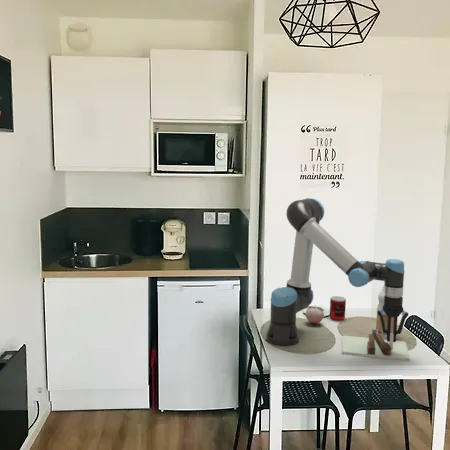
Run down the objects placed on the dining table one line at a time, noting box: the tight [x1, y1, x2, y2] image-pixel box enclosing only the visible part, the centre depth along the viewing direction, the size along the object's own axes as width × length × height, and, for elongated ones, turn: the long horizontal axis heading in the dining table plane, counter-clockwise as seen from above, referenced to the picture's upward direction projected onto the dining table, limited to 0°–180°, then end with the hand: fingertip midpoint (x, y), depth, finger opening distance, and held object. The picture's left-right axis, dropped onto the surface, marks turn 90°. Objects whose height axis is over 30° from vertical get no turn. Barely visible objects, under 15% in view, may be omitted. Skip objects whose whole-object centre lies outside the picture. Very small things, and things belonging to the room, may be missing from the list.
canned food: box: [329, 295, 347, 322], centre depth 269 cm, size 8×8×11 cm
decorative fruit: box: [304, 305, 325, 325], centre depth 260 cm, size 9×8×10 cm
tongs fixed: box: [367, 329, 376, 355], centre depth 230 cm, size 4×20×4 cm, turn 167°
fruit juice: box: [375, 281, 399, 340], centre depth 243 cm, size 9×9×28 cm
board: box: [341, 335, 411, 362], centre depth 230 cm, size 28×20×1 cm
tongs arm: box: [375, 334, 392, 355], centre depth 229 cm, size 3×17×3 cm, turn 176°
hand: (390, 348), depth 224 cm, fingers closed
